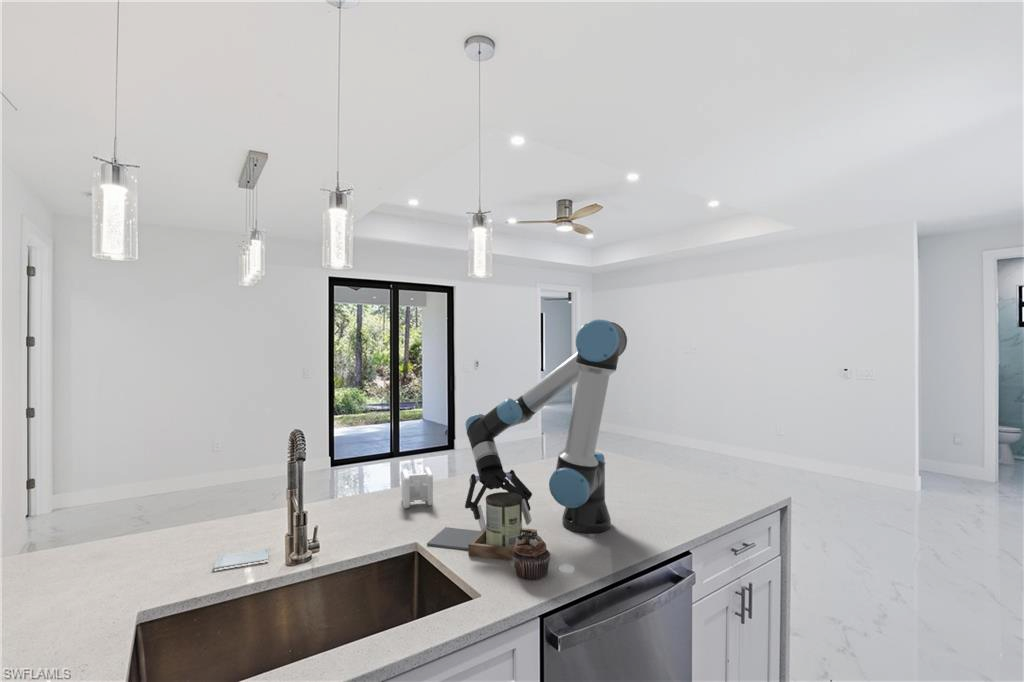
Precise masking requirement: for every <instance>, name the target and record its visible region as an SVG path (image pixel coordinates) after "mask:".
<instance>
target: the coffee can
mask: <svg viewBox="0 0 1024 682" xmlns="http://www.w3.org/2000/svg"><path fill="white" fill-rule="evenodd" d="M485 506H486V507H485V508H486V509H485V510H486V511H485V512H486V513H485V514H486V515H485V523H486V541H485V542H486V545H495V546H504V547H512V548H513V546H514V544H515V542H516V538H517V537H518V536H521V533H522V528H523V513H522V496H521V495H519V494H516V493H511V492H508V491H506V492H505V491H500V492H494V493H490V494H488V495H486V496H485Z"/></svg>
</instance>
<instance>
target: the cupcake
mask: <svg viewBox="0 0 1024 682" xmlns="http://www.w3.org/2000/svg"><path fill="white" fill-rule="evenodd" d="M529 533H530V532H528V531H526V530H524V531H523V533H521V536H518V537H517V538H516V542H515V544H514V546H513V549H512V552H511V553H512V557H513V561H512V562H513V565H514V571H515V576H517V578H519V579H521V580H525V581H539V580H542V579H544V578H546V577H547V575H548V570H549V564H550V559H551V553H550V551H549V550H548V549H547V544H546V542H545V541H544V540H543V539H542V537H541V536H540V535H539V534H538V531H537V532H531V535H529Z"/></svg>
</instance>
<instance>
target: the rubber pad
mask: <svg viewBox="0 0 1024 682" xmlns="http://www.w3.org/2000/svg"><path fill="white" fill-rule="evenodd" d="M480 532H481V530H476V529H475V530H474V529H467V528H466V529H465V528H456V527H450V526H449V527H447V526H445V527H444V528H443V529H442V530H441V531H440V532H438V533H437V534H436V535H435V536H434V537H432V538H431V539H430V540H429V541H427V542H426V546H429V547H430V546H431V547H436V548H437V547H438V548H445V549H454V550H461V549H462V550H463V551H468V544H469V543H470V542H471V541H472V540H473V539H474V538H475V537H476V536H477V535H478V534H479V533H480ZM462 550H461V551H462Z"/></svg>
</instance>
